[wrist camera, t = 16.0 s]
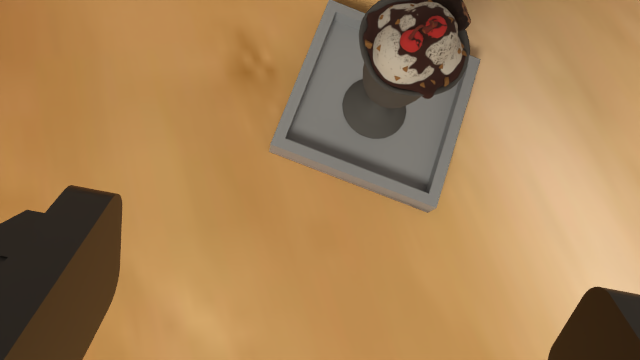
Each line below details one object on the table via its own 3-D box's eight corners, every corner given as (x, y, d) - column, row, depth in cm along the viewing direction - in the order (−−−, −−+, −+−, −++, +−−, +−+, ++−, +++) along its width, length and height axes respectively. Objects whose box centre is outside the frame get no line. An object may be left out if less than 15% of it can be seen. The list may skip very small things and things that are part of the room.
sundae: (336, 154, 39) (390, 61, 25) (326, 70, 41) (371, -64, 26) (422, 148, 40) (521, 55, 26) (409, 66, 42) (495, -64, 27)
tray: (269, 151, 39) (270, 144, 38) (326, 12, 43) (329, -1, 41) (428, 212, 40) (436, 207, 38) (471, 69, 43) (480, 59, 42)
